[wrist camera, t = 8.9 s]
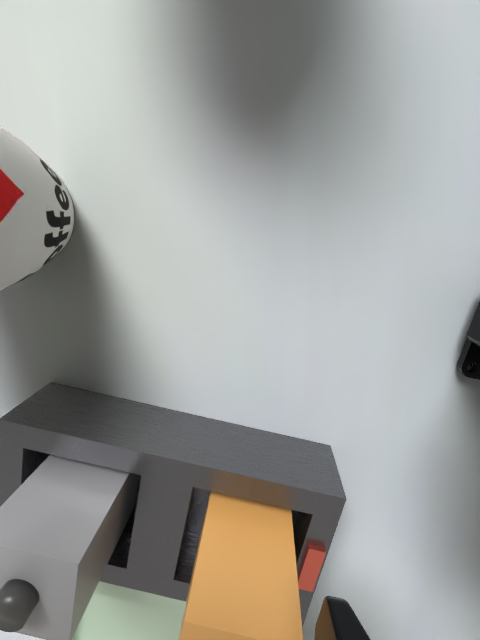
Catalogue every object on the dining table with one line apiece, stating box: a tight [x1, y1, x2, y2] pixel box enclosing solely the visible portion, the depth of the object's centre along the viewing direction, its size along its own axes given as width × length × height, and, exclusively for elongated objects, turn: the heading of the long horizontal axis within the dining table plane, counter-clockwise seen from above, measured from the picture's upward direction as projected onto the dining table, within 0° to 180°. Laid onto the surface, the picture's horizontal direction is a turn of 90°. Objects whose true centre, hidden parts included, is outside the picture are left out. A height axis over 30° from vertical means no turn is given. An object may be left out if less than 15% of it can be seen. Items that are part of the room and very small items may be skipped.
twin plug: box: [0, 454, 139, 640], centre depth 16 cm, size 4×4×8 cm
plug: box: [178, 491, 303, 640], centre depth 16 cm, size 4×4×9 cm
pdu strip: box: [0, 383, 346, 625], centre depth 19 cm, size 16×8×4 cm, turn 78°
